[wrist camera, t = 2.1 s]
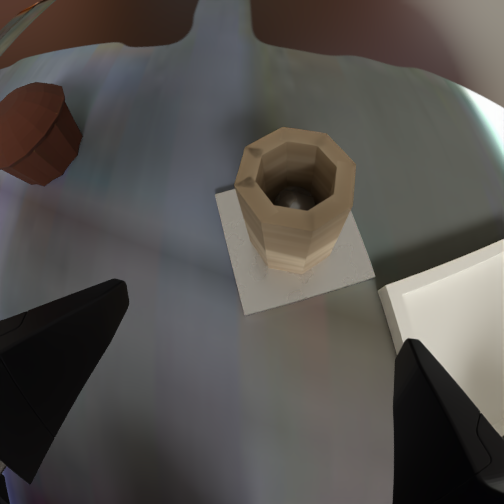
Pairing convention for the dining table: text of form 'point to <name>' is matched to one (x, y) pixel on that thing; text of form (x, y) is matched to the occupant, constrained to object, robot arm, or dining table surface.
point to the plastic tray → (458, 322)
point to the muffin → (37, 133)
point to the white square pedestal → (282, 282)
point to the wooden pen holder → (302, 175)
